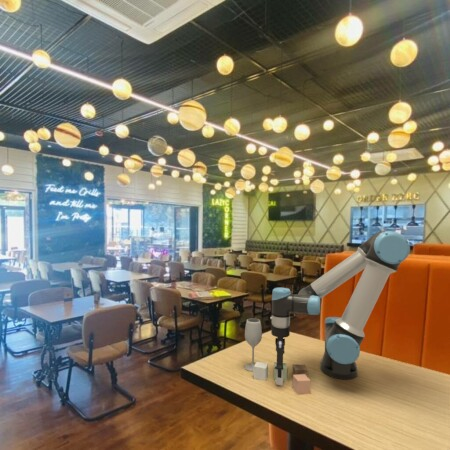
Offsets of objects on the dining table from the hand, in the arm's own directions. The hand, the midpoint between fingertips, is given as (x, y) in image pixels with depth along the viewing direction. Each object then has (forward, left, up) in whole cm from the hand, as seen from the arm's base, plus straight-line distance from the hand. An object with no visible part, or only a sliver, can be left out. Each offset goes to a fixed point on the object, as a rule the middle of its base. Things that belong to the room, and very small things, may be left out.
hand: (279, 376), depth 127 cm
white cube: (+8, +2, 0) cm, 8 cm away
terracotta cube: (-8, +9, 0) cm, 12 cm away
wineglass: (+12, -6, 0) cm, 13 cm away
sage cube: (0, 0, 0) cm, 0 cm away
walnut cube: (-8, 0, 0) cm, 8 cm away
